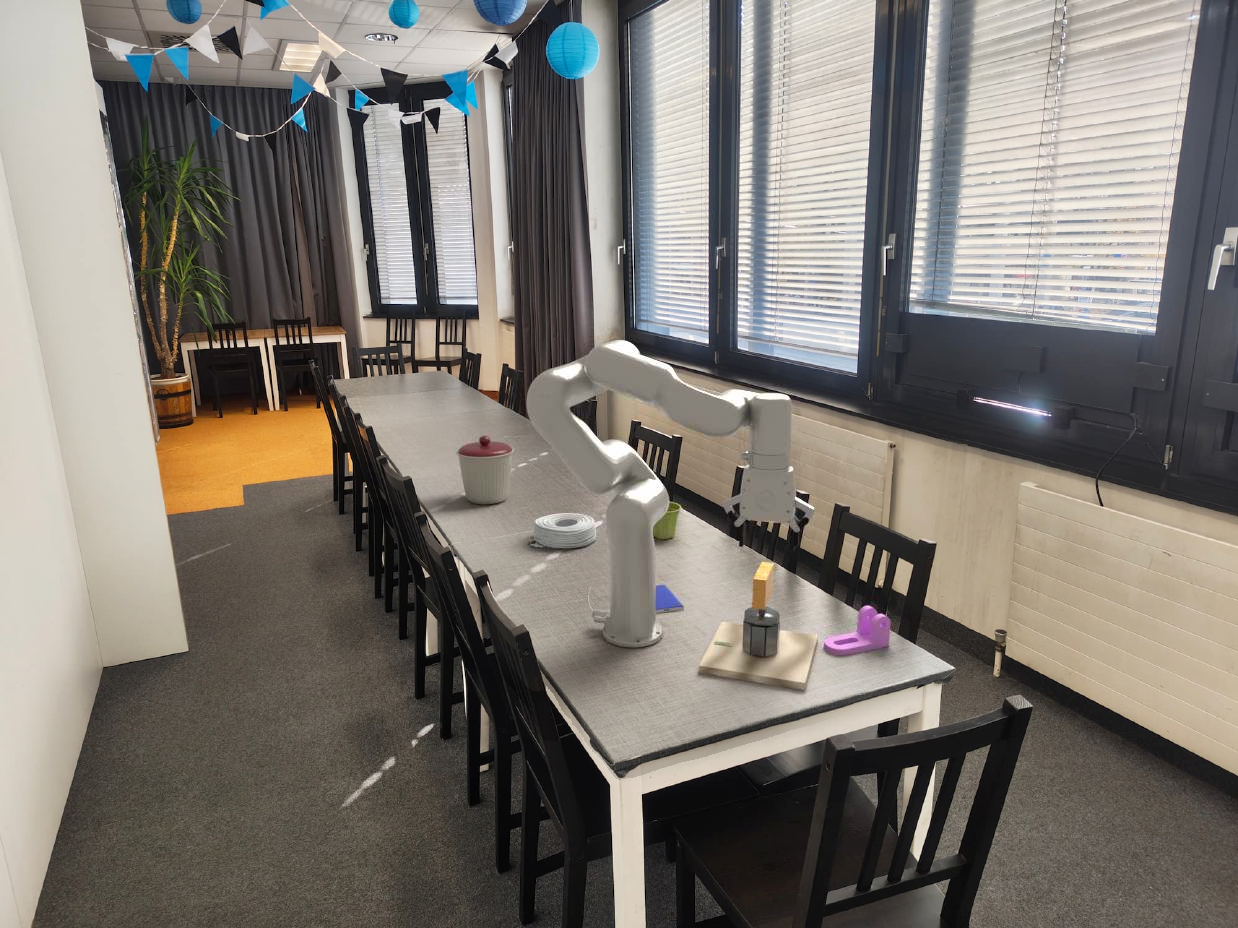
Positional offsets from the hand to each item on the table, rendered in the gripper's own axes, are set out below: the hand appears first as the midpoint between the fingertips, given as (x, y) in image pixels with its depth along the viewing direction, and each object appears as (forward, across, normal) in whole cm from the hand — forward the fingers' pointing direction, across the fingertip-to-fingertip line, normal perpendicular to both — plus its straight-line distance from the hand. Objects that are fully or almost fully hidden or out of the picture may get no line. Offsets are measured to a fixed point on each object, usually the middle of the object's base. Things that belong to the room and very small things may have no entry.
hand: (767, 547), depth 158 cm
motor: (+21, -1, +1) cm, 21 cm away
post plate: (+23, -1, 0) cm, 23 cm away
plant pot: (+23, -39, +61) cm, 76 cm away
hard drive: (+24, -28, +19) cm, 41 cm away
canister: (+22, -102, +75) cm, 128 cm away
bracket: (+24, +16, +11) cm, 31 cm away
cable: (+23, -64, +50) cm, 84 cm away
